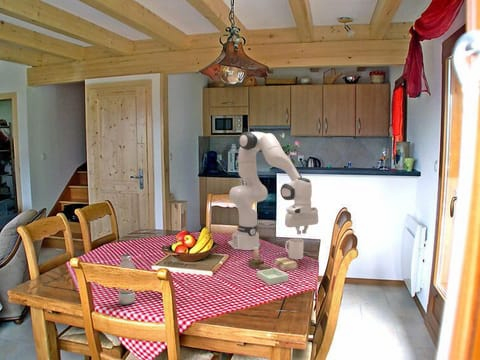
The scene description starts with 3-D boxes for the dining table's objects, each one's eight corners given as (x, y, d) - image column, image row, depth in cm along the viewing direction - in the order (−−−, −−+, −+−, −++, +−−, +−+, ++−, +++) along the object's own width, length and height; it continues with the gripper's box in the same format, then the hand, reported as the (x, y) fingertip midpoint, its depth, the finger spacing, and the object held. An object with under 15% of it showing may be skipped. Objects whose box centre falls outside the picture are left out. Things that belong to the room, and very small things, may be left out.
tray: (256, 277, 186) (256, 271, 186) (275, 273, 191) (275, 267, 191) (269, 285, 176) (269, 278, 176) (288, 281, 182) (288, 275, 182)
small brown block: (259, 270, 196) (259, 265, 195) (266, 269, 198) (266, 263, 197) (263, 273, 192) (263, 267, 192) (270, 271, 194) (270, 266, 194)
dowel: (252, 266, 201) (253, 247, 200) (256, 265, 202) (257, 247, 201) (255, 267, 199) (255, 248, 198) (259, 266, 200) (259, 248, 199)
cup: (296, 260, 213) (297, 243, 212) (280, 255, 221) (281, 238, 220) (305, 257, 218) (306, 240, 217) (289, 253, 227) (290, 236, 226)
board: (274, 266, 204) (274, 258, 204) (285, 264, 207) (285, 257, 207) (285, 272, 195) (285, 264, 195) (296, 270, 199) (296, 262, 198)
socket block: (248, 266, 202) (248, 259, 201) (257, 264, 204) (258, 257, 204) (254, 270, 196) (254, 262, 196) (263, 268, 199) (264, 260, 199)
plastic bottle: (120, 299, 158) (119, 252, 155) (136, 299, 158) (136, 252, 156) (116, 306, 151) (115, 257, 149) (133, 306, 152) (133, 257, 150)
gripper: (313, 206, 211) (312, 230, 212) (283, 208, 201) (282, 234, 202) (321, 208, 205) (320, 233, 207) (291, 210, 195) (290, 237, 197)
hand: (301, 233), depth 204 cm, fingers open, 2 cm apart
